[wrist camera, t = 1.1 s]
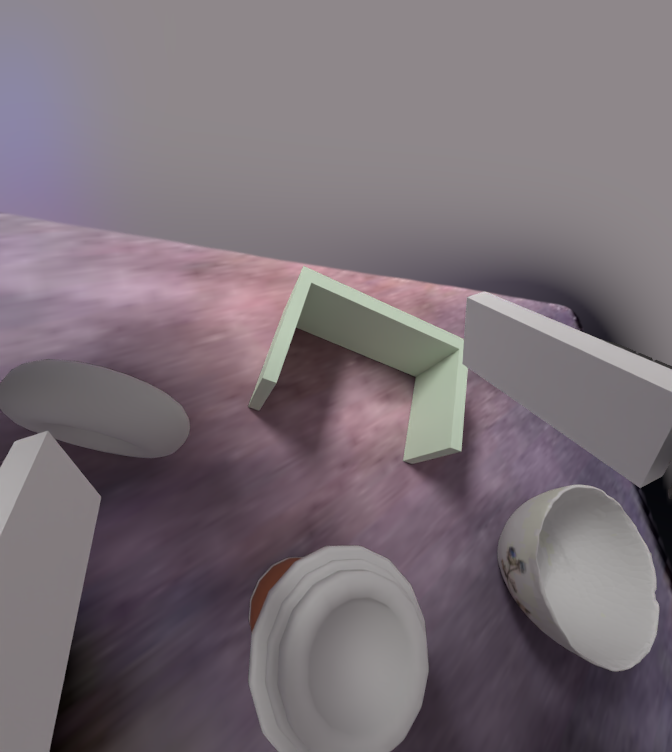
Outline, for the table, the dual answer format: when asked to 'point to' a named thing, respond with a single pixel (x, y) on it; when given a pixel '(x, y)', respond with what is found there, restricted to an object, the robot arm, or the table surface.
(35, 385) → the donut
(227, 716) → the table surface
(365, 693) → the coffee cup
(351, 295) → the green u-shaped bracket
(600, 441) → the robot arm
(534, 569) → the teacup
